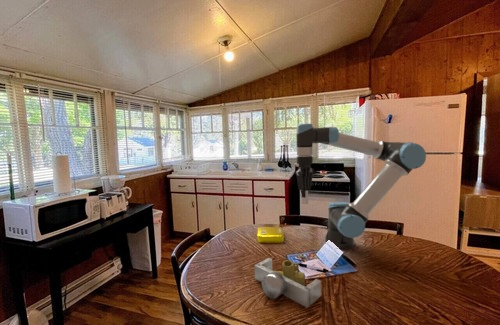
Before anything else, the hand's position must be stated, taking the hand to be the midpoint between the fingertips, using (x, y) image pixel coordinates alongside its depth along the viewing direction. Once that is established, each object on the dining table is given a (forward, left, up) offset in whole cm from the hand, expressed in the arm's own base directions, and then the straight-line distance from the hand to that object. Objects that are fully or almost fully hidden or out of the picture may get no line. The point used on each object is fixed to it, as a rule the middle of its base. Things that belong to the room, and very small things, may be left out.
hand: (305, 203), depth 123 cm
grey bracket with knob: (+31, +10, -26) cm, 42 cm away
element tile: (-4, -28, -27) cm, 39 cm away
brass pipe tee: (+24, +9, -27) cm, 37 cm away
